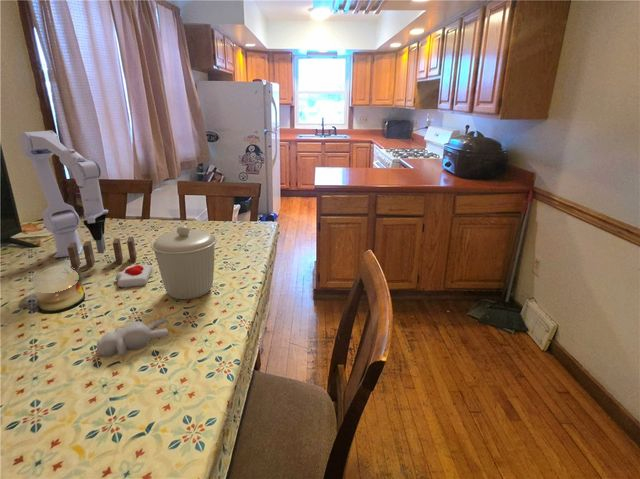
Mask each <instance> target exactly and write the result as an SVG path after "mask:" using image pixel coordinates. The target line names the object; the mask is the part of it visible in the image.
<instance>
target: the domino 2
mask: <svg viewBox="0 0 640 479" xmlns="http://www.w3.org/2000/svg"><path fill="white" fill-rule="evenodd" d="M82 245H83V249H82V251H83V253H84V258H85V264H86V266H87V269H88V268H93V267H94V265H95V263H96V260H95V255H94V254H95V253H94V250H93V246H92V241H91V240H86V241H84V244H82Z"/></svg>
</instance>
